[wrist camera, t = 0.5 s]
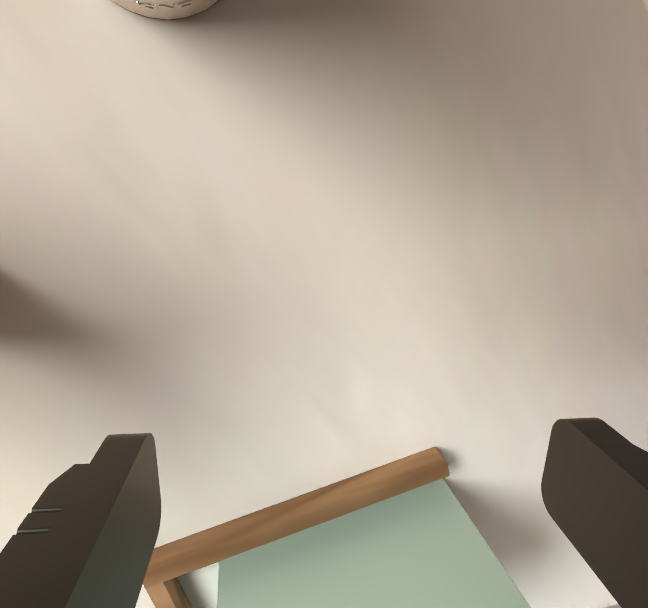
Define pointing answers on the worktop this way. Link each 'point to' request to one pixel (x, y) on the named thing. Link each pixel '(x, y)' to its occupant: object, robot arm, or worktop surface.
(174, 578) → the open frame
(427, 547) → the pale green rectangular block
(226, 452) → the worktop surface
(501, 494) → the worktop surface
